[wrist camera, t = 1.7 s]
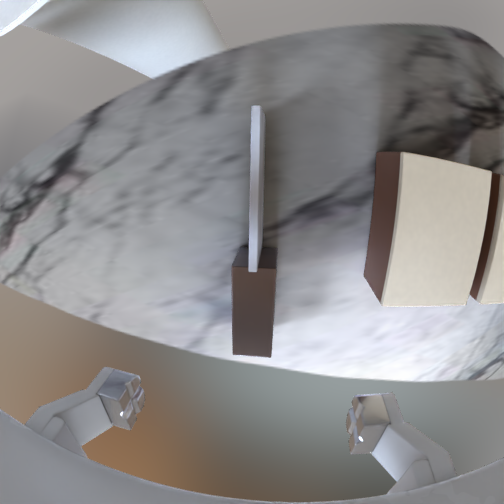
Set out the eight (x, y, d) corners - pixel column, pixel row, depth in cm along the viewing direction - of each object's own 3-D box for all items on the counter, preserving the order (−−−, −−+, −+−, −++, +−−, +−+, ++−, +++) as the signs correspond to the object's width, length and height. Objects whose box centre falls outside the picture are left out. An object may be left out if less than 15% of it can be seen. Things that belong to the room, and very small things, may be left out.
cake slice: (468, 168, 14) (505, 175, 10) (499, 176, 14) (536, 185, 10) (450, 278, 16) (479, 305, 13) (481, 278, 16) (511, 303, 12)
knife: (241, 116, 15) (230, 105, 11) (282, 117, 15) (282, 105, 11) (240, 325, 19) (231, 361, 15) (273, 327, 19) (270, 364, 15)
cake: (376, 151, 15) (403, 151, 11) (454, 165, 14) (492, 171, 10) (363, 275, 17) (382, 307, 13) (437, 277, 17) (466, 305, 13)
